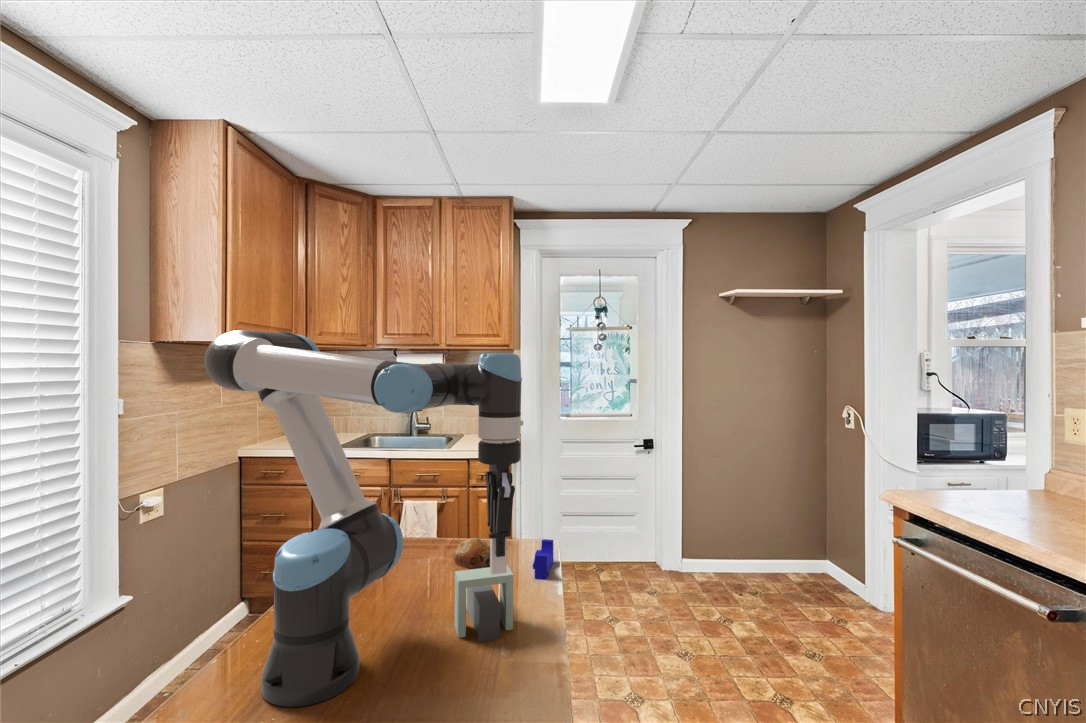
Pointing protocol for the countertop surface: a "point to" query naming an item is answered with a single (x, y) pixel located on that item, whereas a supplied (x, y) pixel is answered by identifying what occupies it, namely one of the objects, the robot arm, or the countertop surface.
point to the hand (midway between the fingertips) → (498, 571)
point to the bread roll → (472, 554)
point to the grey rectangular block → (484, 612)
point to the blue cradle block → (543, 560)
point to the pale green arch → (482, 579)
